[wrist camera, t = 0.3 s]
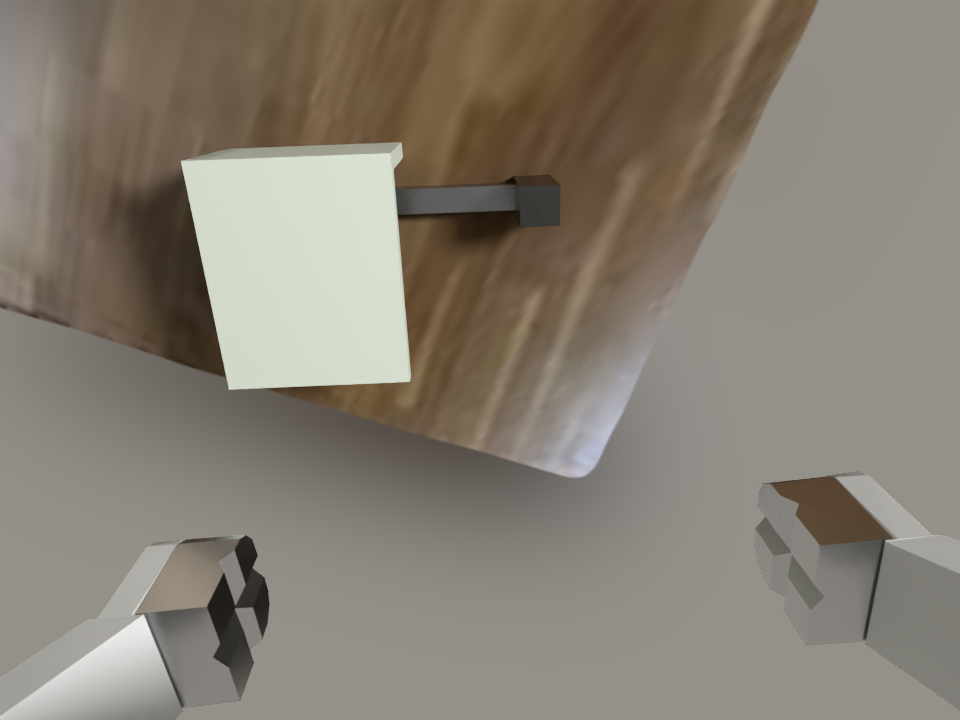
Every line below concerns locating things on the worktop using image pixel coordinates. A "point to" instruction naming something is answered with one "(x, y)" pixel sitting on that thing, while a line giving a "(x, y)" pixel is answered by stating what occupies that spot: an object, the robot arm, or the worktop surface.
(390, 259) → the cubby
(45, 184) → the worktop surface
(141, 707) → the robot arm
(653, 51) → the worktop surface
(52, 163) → the worktop surface
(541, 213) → the hook tool
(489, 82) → the worktop surface
